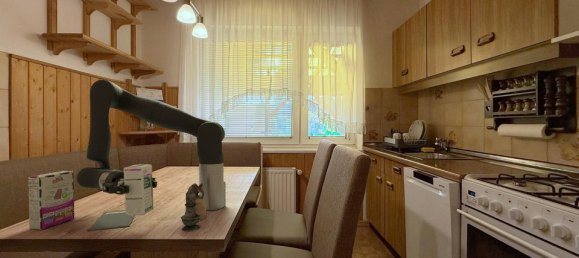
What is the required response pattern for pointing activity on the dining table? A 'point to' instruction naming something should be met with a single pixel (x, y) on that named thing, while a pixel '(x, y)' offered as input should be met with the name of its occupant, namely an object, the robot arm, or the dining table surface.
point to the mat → (112, 220)
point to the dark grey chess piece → (190, 213)
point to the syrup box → (138, 189)
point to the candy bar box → (50, 199)
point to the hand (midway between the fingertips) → (142, 187)
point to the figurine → (199, 200)
